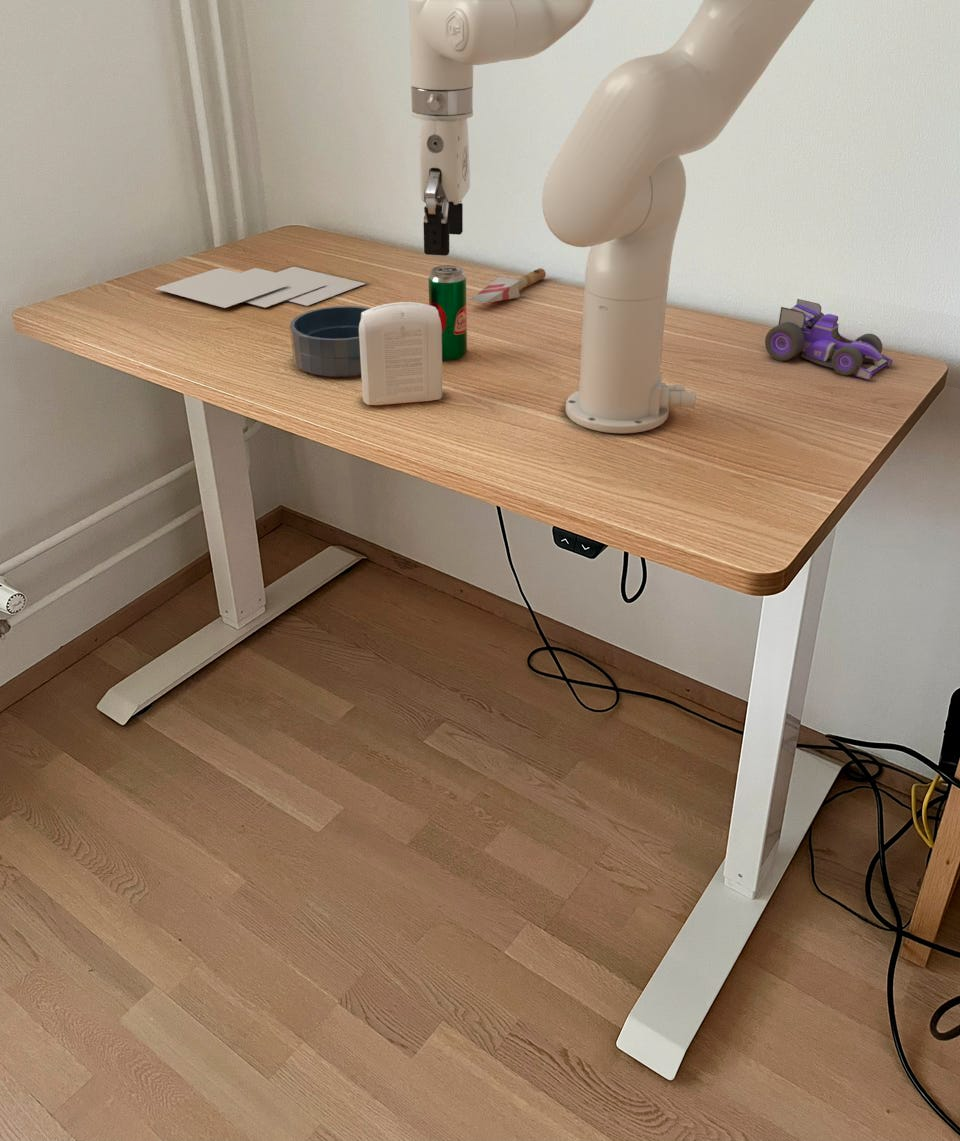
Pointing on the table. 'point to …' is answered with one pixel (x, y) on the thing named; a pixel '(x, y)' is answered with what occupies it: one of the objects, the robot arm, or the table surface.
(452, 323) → the soda can
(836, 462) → the table surface
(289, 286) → the paper stack
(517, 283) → the paintbrush
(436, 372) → the photo printer
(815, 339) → the toy race car
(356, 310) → the bowl
